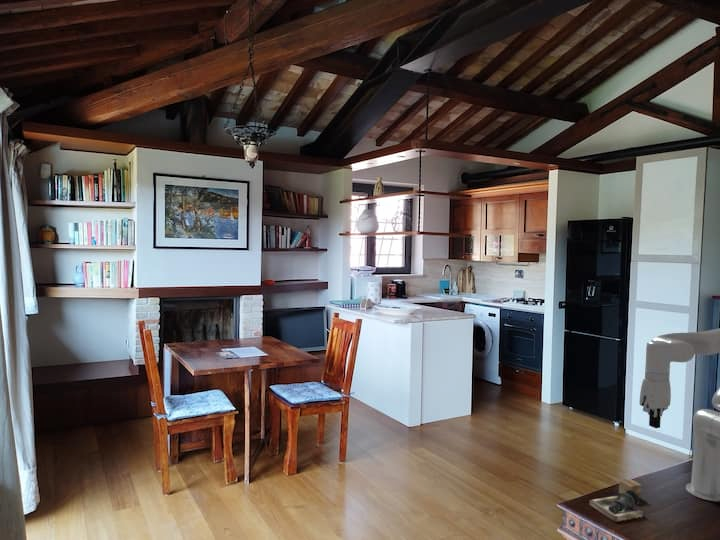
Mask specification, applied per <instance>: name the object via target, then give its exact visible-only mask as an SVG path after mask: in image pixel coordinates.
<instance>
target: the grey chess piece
mask: <svg viewBox="0 0 720 540" xmlns="http://www.w3.org/2000/svg"><path fill="white" fill-rule="evenodd" d="M617 496H618V501H614V503H613V504H612V505H610V506H609V511H610V512H612V513H614V514H615V513H617V512H619V511H622V510H623V509H624V508H625V509H627V510H632V511H633V510H634V507H635V506H638V505H640V498H638V496H637V495H636V493H635V492H633V491H631V490H627V491H626V493H620V494H619V493H618V495H617Z"/></svg>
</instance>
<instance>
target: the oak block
mask: <svg viewBox="0 0 720 540" xmlns="http://www.w3.org/2000/svg"><path fill="white" fill-rule="evenodd" d="M618 485H619V486H618V495H619V494H620V493H626V491H627V490H631V491H633V492H635V493H636V495H637V496H638V498H639V497H640V498H641V495H642V494H641V493H642V484H640V483H639V482H637V481H635V480H633V479H631V478H626V479H619V484H618ZM640 498H639V499H640Z"/></svg>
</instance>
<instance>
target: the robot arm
mask: <svg viewBox="0 0 720 540" xmlns="http://www.w3.org/2000/svg"><path fill="white" fill-rule="evenodd" d="M645 346H646V347H645V348H646V349H645V365H644V366H645V368H644V369H645V370H644V378H643V379H642V383H641V388H640V394H639V406H641V407H642V412H645V413H647V415H648V417H649V420H648V426H650V427H652V428H654V429H660V428H661V421H662V420H661V419H662V418H661V417H662V416H663V413H664V411H667V410H668V409H669V406H670V405H671V399H672V397H671V396H672V393H671V392H672V391H671V388H672V387H671V381H670V373H671V372H670V371H671V362H673V363H687V362H690V361H691V360H692V359H693V358H694V357H695V355H697V356H712V355H716V354H720V328H719V327H718V328H715V329H710V330H705V331H691V332H672V333H666V334H661V335H660V334H659V335H658V336H656V337H654V338H653V339H651V340H649V341H647V343H646V345H645ZM711 404H712V407H713V408H714V409H716V410H718V411H716V410H713V409H709V408H702V409H698V410H696V412H694V414H693V417H692V426H693V427H692V428H693V434H694V435H693V436H694V438H693V439H694V441H693V442H694V443H693V455H692V468H691V479H690V480H691V481H690V483H687V484H686V485H685V490H686V491H687V492H688V493H689V494H690V495H692V496H693V497H697V498H699V499H702V500H704V501H705V500H707V501H710V502H720V412H719V411H720V386H719V387H718V389H717V390H716V391H715V393H714V394H713V396H712V398H711Z"/></svg>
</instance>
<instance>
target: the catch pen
mask: <svg viewBox="0 0 720 540" xmlns="http://www.w3.org/2000/svg"><path fill="white" fill-rule="evenodd" d="M614 501H618V495H612V496H607V497H601V498H594V499H589V506H590V507H592V508H594V509H595V510H596V511H598V512H599V513H601V514H603V515H604V516H605V517H607V518H609V520H612V521H613V522H614V523H616V522H622V520H623V521H627V519H628V520H633V518H634V519H639V517H640V518H643V517H644V511H643V510H641V509H637V510H633V509H632V510H627V509H625V508H624V509H623V510H622V511H619V512H617V513H615V514H614V513H612V512H610V511H609V506H610V505H612V504H613V503H614Z"/></svg>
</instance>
